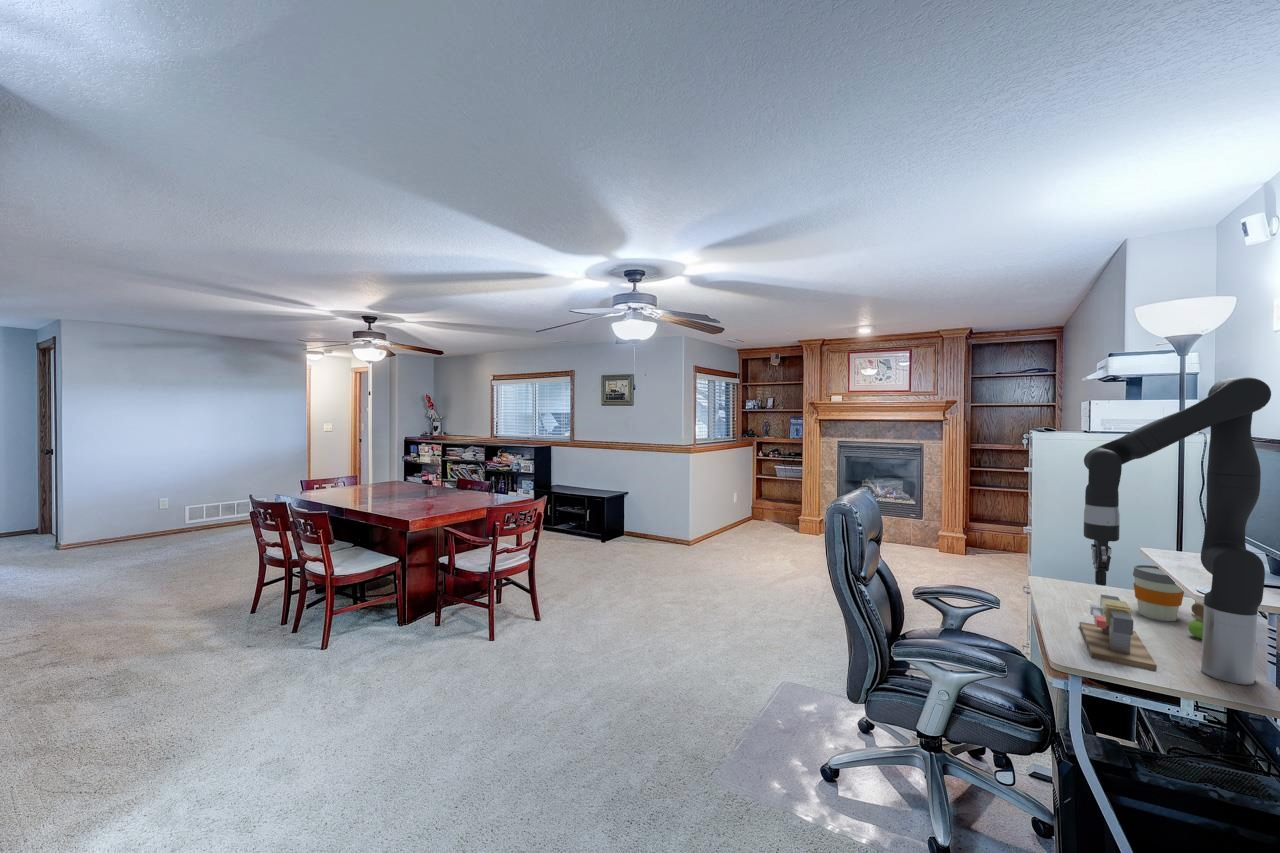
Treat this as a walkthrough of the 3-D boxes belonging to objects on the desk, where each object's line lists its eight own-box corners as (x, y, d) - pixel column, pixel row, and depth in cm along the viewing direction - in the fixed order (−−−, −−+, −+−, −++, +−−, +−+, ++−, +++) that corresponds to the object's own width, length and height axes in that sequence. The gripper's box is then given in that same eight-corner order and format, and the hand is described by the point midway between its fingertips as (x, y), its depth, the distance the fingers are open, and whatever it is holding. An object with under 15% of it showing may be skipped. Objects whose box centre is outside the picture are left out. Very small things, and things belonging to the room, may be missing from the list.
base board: (1079, 626, 171) (1079, 621, 171) (1135, 636, 164) (1135, 631, 164) (1091, 658, 149) (1091, 652, 149) (1156, 670, 142) (1156, 665, 142)
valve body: (1096, 626, 167) (1098, 590, 167) (1119, 630, 164) (1120, 593, 164) (1109, 653, 149) (1110, 613, 148) (1135, 658, 146) (1136, 617, 145)
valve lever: (1090, 604, 160) (1097, 619, 149) (1101, 606, 159) (1109, 621, 148) (1089, 612, 160) (1096, 628, 149) (1101, 614, 159) (1109, 630, 148)
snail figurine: (1210, 644, 158) (1212, 603, 158) (1183, 635, 164) (1184, 596, 164) (1223, 642, 160) (1224, 601, 159) (1195, 633, 166) (1197, 594, 166)
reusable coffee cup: (1187, 626, 172) (1189, 578, 171) (1133, 616, 179) (1135, 571, 179) (1180, 614, 182) (1182, 569, 181) (1129, 606, 189) (1131, 562, 189)
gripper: (1124, 527, 143) (1123, 593, 144) (1114, 519, 155) (1114, 580, 155) (1087, 524, 147) (1086, 588, 148) (1080, 516, 159) (1080, 576, 159)
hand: (1100, 584), depth 151 cm, fingers closed
